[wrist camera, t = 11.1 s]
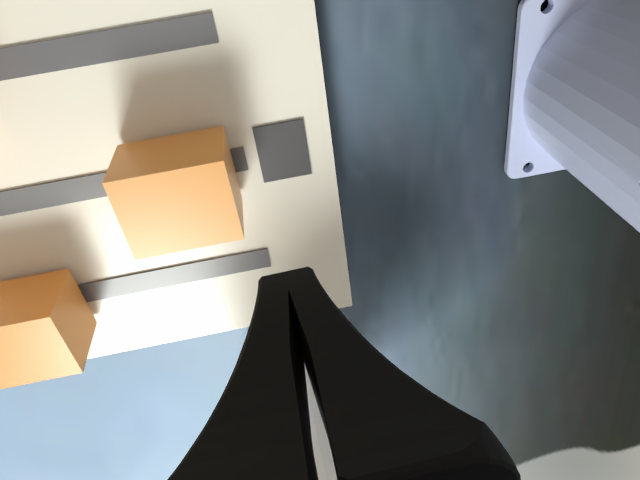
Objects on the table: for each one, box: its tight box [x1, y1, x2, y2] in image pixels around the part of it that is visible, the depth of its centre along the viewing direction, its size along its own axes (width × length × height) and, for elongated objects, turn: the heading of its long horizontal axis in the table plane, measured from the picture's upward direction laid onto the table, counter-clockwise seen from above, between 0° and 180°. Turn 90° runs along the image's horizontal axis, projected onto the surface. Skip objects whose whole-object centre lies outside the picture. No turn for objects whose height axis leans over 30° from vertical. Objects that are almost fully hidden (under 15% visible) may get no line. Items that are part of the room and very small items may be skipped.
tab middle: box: [102, 126, 244, 260], centre depth 19 cm, size 4×3×3 cm
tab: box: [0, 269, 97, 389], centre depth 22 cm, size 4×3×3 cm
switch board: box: [0, 0, 353, 359], centre depth 21 cm, size 20×18×2 cm
